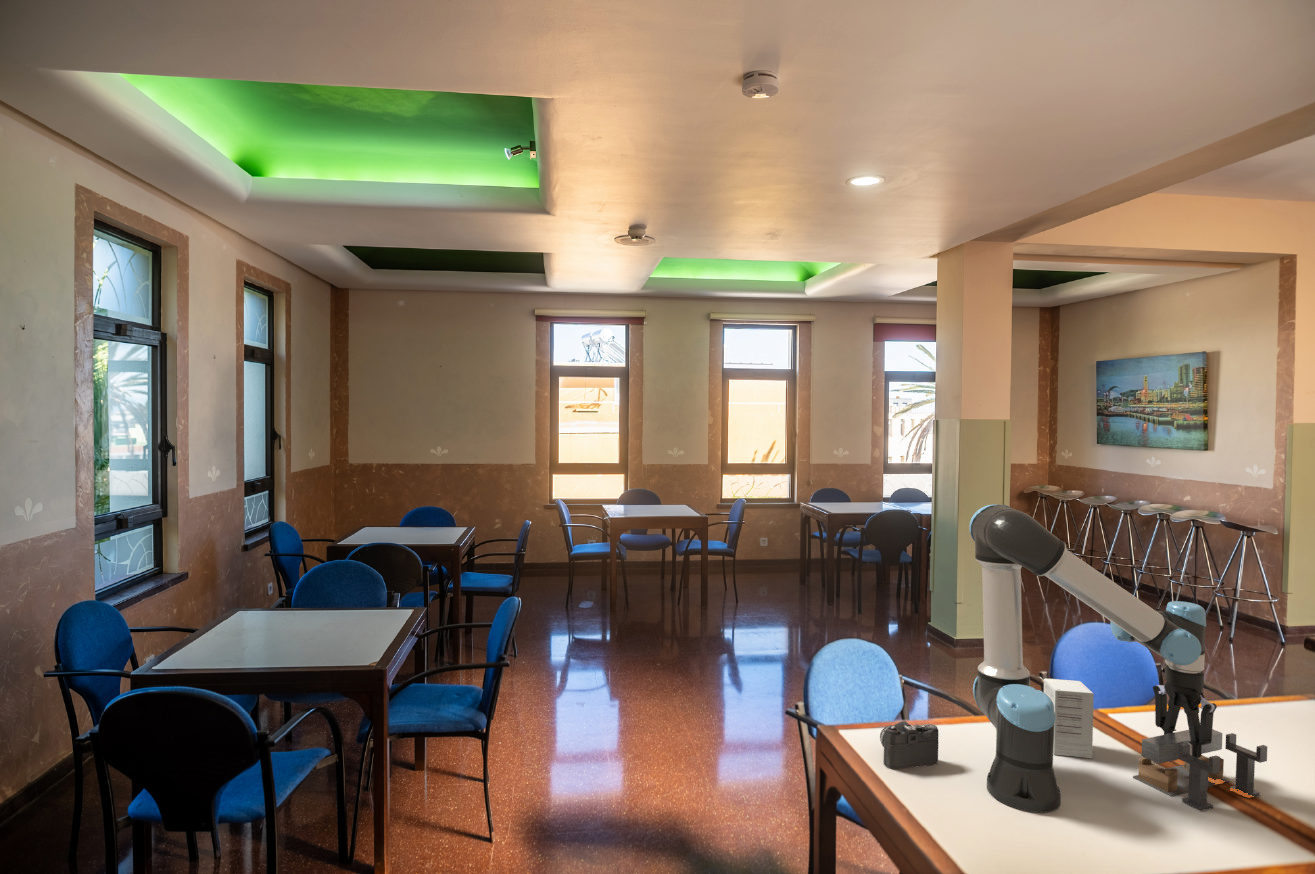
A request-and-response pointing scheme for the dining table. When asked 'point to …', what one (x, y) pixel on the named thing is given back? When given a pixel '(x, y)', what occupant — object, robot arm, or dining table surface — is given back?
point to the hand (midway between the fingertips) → (1181, 764)
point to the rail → (1174, 745)
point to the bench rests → (1171, 776)
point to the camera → (909, 745)
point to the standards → (1201, 769)
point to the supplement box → (1071, 717)
